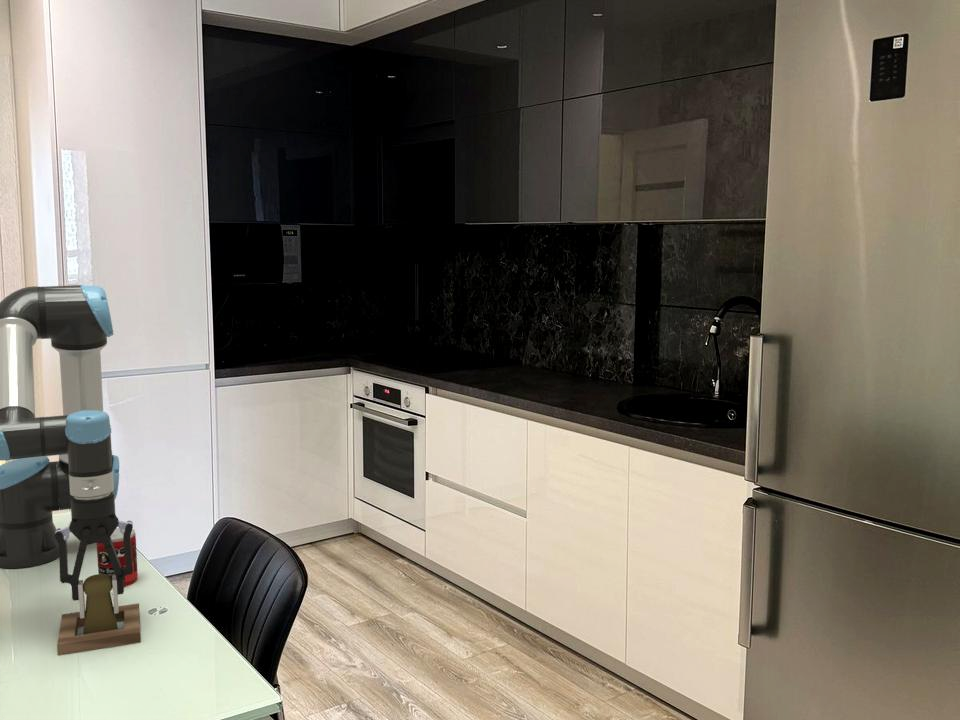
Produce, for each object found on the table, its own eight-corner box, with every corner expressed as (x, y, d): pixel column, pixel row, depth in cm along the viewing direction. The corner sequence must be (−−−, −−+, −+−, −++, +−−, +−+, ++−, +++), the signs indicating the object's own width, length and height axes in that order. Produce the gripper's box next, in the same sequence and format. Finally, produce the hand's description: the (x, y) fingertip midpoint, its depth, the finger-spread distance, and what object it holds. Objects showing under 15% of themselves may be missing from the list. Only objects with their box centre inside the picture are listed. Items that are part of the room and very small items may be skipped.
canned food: (91, 586, 190) (88, 537, 189) (117, 573, 198) (115, 525, 196) (119, 590, 188) (116, 541, 186) (145, 577, 195) (142, 529, 194)
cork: (105, 640, 164) (101, 583, 163) (76, 637, 166) (72, 581, 164) (124, 626, 170) (121, 571, 169) (96, 623, 171) (93, 569, 170)
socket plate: (62, 623, 172) (62, 614, 171) (139, 612, 177) (139, 603, 177) (57, 655, 159) (56, 644, 159) (140, 642, 164) (140, 632, 164)
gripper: (36, 505, 157) (44, 628, 161) (145, 494, 164) (151, 613, 167) (39, 494, 164) (48, 612, 167) (144, 484, 171) (150, 598, 174)
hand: (99, 612), depth 167 cm, fingers closed on cork, 5 cm apart
